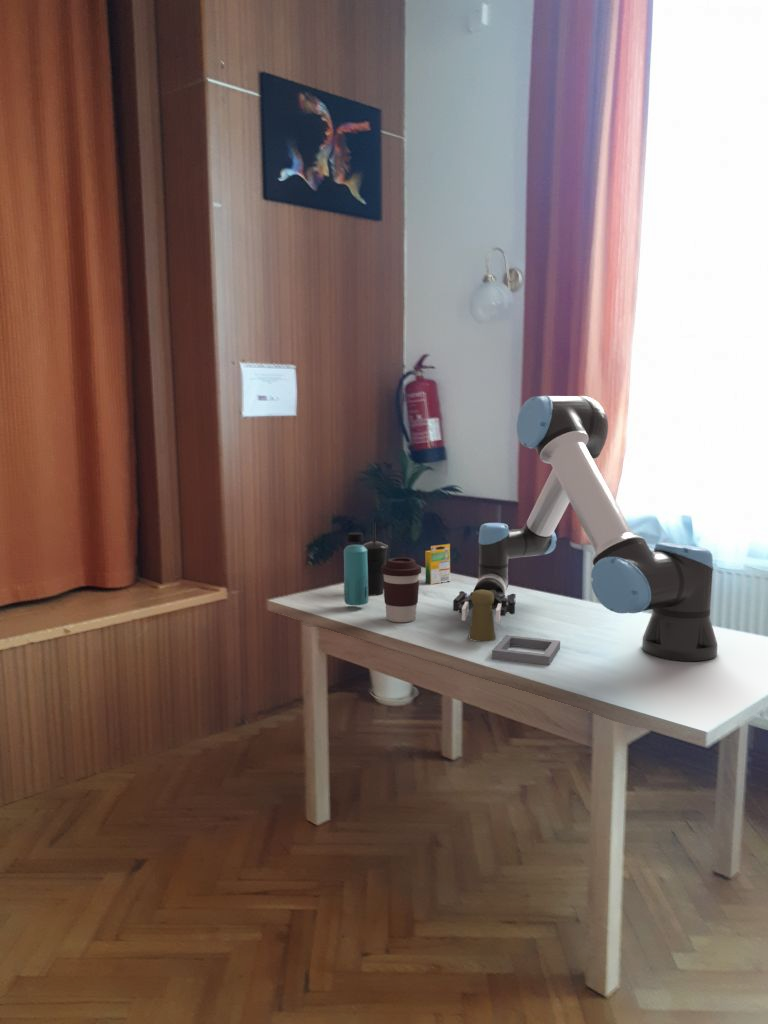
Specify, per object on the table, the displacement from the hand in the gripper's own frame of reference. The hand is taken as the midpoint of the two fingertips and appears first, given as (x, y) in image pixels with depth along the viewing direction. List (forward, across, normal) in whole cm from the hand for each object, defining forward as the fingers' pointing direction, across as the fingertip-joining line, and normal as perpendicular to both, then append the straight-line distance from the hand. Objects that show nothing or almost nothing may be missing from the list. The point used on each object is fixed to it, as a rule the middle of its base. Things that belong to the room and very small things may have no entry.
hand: (480, 615), depth 177 cm
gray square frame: (+5, -10, -6) cm, 13 cm away
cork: (-5, 0, -7) cm, 8 cm away
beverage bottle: (-25, +35, -7) cm, 44 cm away
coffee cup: (-17, +21, -7) cm, 28 cm away
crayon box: (-60, +19, -7) cm, 63 cm away
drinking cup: (-42, +34, -7) cm, 55 cm away
